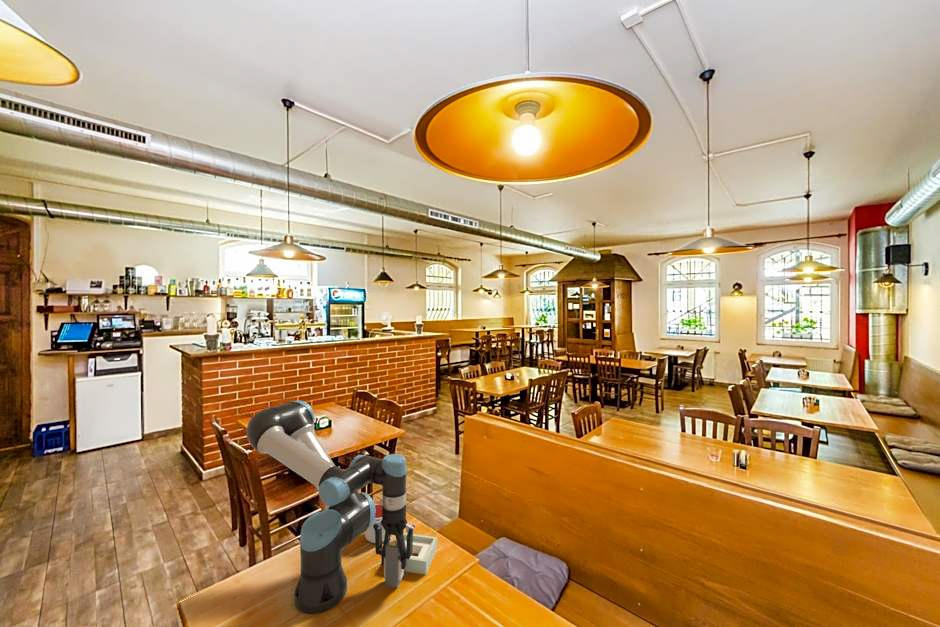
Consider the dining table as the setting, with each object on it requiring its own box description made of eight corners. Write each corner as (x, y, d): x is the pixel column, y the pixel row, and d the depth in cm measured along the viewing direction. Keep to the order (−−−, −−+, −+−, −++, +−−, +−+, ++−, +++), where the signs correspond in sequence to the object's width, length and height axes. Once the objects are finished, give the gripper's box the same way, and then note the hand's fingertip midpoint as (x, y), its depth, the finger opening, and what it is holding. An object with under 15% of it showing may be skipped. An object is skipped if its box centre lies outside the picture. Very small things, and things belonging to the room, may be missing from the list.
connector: (385, 586, 120) (385, 543, 119) (390, 577, 124) (390, 535, 123) (397, 588, 119) (397, 545, 118) (402, 579, 123) (402, 537, 122)
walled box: (386, 568, 128) (386, 555, 128) (400, 544, 140) (400, 532, 140) (425, 574, 125) (426, 561, 125) (437, 549, 138) (437, 537, 138)
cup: (397, 534, 146) (397, 508, 146) (378, 548, 138) (378, 521, 138) (378, 525, 152) (378, 501, 151) (359, 538, 143) (359, 513, 143)
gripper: (363, 508, 118) (363, 580, 119) (415, 514, 115) (415, 589, 116) (374, 496, 126) (374, 564, 127) (423, 502, 122) (423, 572, 123)
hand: (393, 576), depth 121 cm, fingers open, 4 cm apart
